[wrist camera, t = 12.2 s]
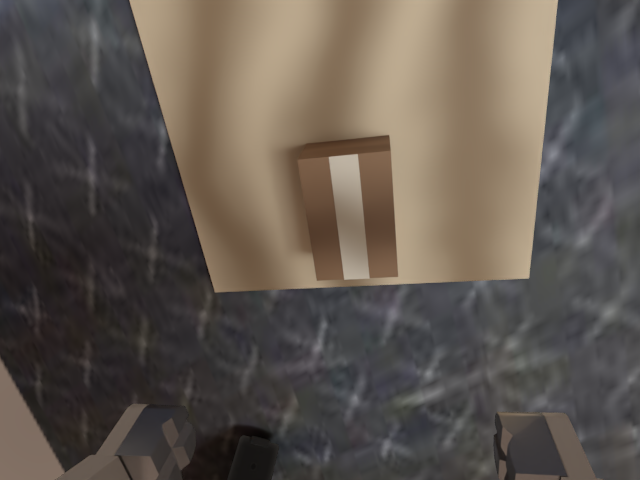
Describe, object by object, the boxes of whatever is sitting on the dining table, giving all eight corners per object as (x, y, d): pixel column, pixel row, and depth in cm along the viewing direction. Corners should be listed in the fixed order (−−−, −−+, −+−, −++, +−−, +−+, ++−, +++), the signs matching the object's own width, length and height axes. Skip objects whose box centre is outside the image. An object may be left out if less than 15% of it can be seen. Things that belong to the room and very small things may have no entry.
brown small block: (306, 143, 23) (297, 159, 21) (389, 135, 23) (390, 150, 20) (322, 254, 26) (316, 281, 24) (396, 250, 26) (398, 277, 23)
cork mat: (582, -294, 15) (589, -305, 15) (525, 273, 26) (528, 278, 25) (86, -170, 19) (78, -175, 18) (217, 287, 29) (214, 292, 29)
